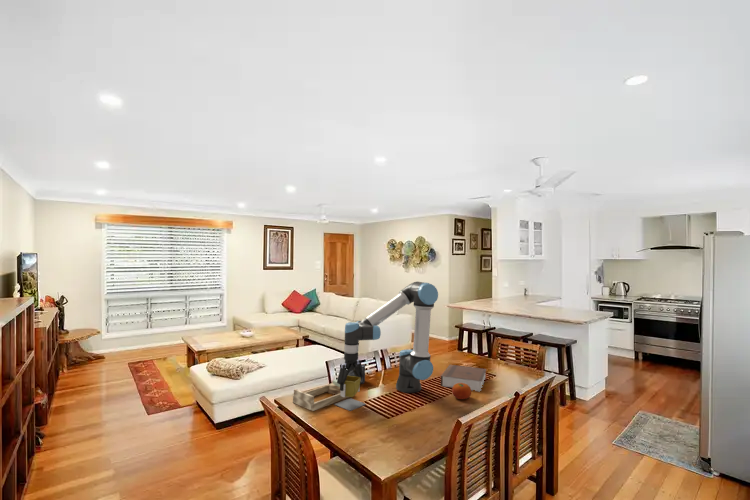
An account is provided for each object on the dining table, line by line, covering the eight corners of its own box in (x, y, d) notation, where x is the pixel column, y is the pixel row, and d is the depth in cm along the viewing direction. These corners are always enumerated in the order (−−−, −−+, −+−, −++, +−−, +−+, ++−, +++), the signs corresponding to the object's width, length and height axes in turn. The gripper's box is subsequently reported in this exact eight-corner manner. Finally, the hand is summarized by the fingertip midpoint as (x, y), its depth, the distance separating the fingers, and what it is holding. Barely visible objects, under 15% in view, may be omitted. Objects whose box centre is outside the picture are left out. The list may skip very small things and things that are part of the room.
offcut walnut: (349, 395, 216) (349, 390, 216) (345, 397, 212) (345, 392, 212) (332, 391, 222) (332, 386, 222) (328, 393, 218) (328, 388, 218)
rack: (354, 395, 215) (354, 383, 215) (312, 411, 192) (313, 397, 192) (334, 388, 226) (334, 376, 226) (292, 402, 203) (293, 389, 203)
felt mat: (366, 404, 202) (366, 403, 202) (350, 411, 193) (350, 410, 193) (349, 398, 210) (349, 397, 210) (334, 404, 201) (334, 404, 201)
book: (440, 386, 234) (440, 376, 234) (449, 374, 260) (449, 364, 260) (481, 392, 225) (481, 381, 225) (486, 379, 251) (486, 369, 251)
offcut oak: (348, 389, 217) (348, 384, 217) (345, 391, 213) (345, 387, 214) (332, 387, 220) (332, 382, 220) (329, 389, 216) (329, 385, 216)
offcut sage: (345, 385, 216) (345, 382, 216) (339, 387, 213) (339, 383, 213) (338, 382, 221) (338, 379, 221) (332, 383, 219) (332, 380, 219)
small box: (365, 380, 241) (365, 364, 242) (363, 384, 235) (364, 367, 235) (348, 379, 242) (349, 363, 243) (347, 383, 236) (347, 366, 236)
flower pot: (360, 393, 204) (361, 377, 205) (354, 399, 196) (355, 382, 196) (345, 391, 207) (346, 375, 207) (339, 397, 199) (339, 379, 199)
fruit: (458, 393, 222) (459, 379, 222) (474, 398, 214) (474, 384, 214) (448, 398, 214) (448, 383, 214) (464, 403, 207) (464, 388, 207)
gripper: (360, 347, 213) (359, 386, 213) (330, 354, 196) (329, 397, 195) (370, 349, 208) (369, 390, 208) (340, 357, 191) (339, 401, 191)
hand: (350, 393), depth 202 cm, fingers closed on flower pot, 10 cm apart
